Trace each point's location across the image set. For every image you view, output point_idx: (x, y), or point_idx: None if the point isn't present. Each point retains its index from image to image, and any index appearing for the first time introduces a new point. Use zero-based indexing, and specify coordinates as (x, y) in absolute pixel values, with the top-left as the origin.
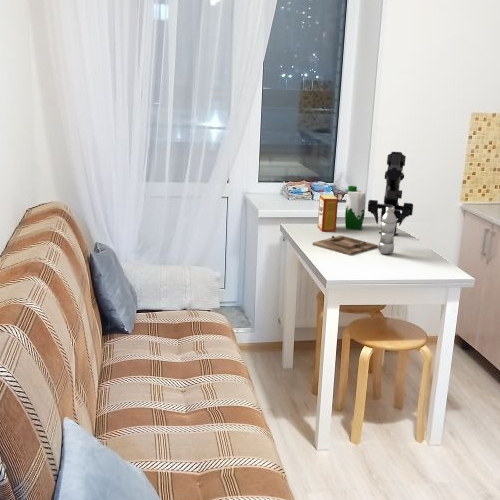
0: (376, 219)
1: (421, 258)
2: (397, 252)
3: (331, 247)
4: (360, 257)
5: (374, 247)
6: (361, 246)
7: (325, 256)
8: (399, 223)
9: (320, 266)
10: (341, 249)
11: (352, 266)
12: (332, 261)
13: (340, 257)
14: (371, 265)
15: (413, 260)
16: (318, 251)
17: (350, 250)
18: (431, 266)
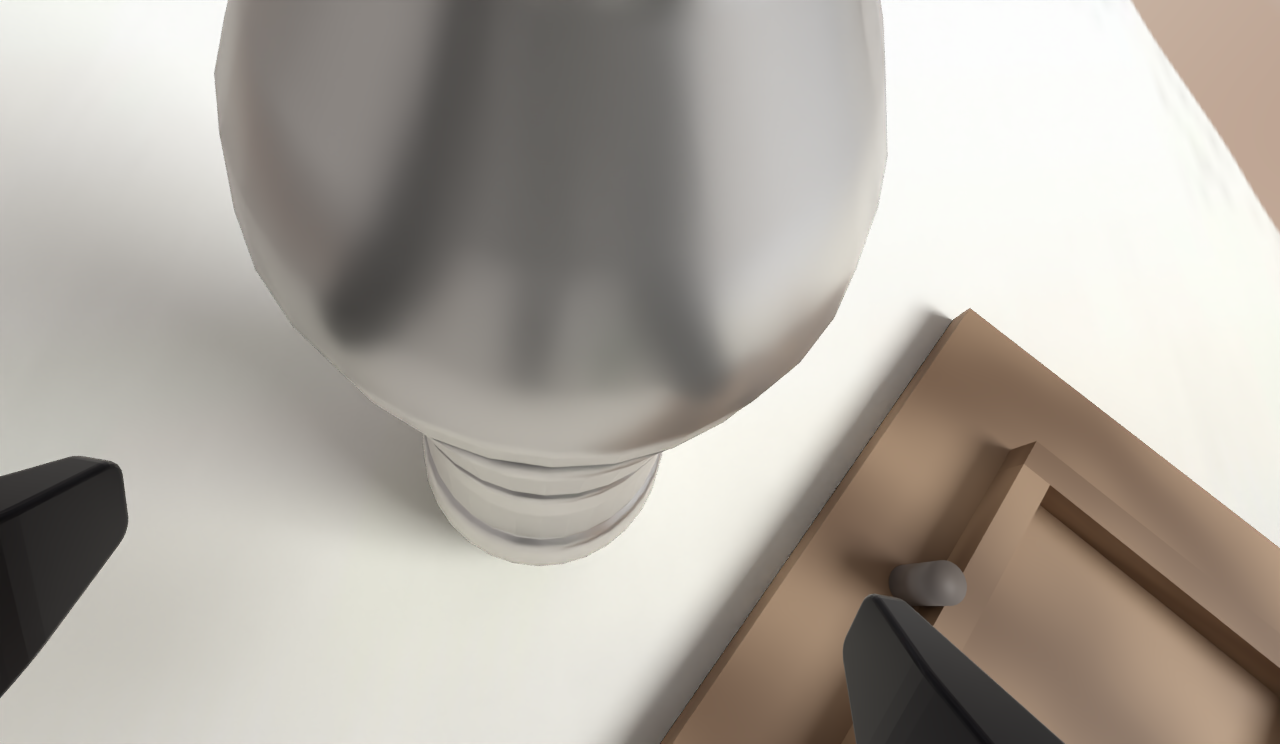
0: (978, 668)
1: (76, 316)
2: (351, 558)
3: (1200, 500)
4: None
5: (674, 730)
6: None
7: (1155, 256)
8: (79, 467)
9: (1114, 15)
10: (1081, 434)
11: (894, 21)
12: (1065, 127)
13: (1026, 242)
14: None
15: (238, 223)
16: (1264, 412)
17: (981, 408)
18: (98, 40)
